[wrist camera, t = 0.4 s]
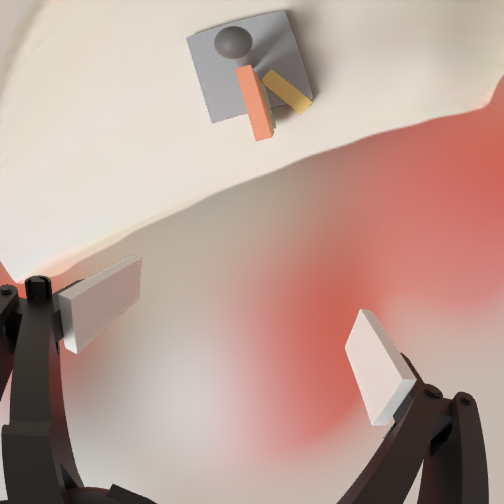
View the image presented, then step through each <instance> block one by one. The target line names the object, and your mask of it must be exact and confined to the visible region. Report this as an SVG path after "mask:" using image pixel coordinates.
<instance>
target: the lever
mask: <svg viewBox="0 0 504 504" xmlns="http://www.w3.org/2000/svg"><path fill="white" fill-rule="evenodd" d="M252 44H253V40H252V37H251V35H250V33H249V32H248V31H247V30H246V29H244V28H242V27H238V26H229V27H226V28H224V29H222V30H221V31H219V32H218V33H217V35H216V37H215V39H214V47H215V49H216V51H217V52H218V54H220V55H221V56H223V57H225V58H228V59H233V60H234V61H235V62H236V63H237V64H238V66H239V67H240V68H236V69H235V71H236V75H237V78H238V81H239V84H240V88H241V91H242V94H243V98H244V101H245V105H246V108H247V111H248V115H249V118H250V122H251V125H252V129H253V132H254V136H255V139H256V141H259V140H263V139H267V138H271V137H272V136H273V134H274V130H273V126H272V123H271V119H270V115H269V112H268V108H267V105H266V101H265V98H264V94H263V91H262V88H261V84H260V81H259V78H258V75H257V74H256V72H255V71H254V69H253V68H255V66H256V64H257V60H256V58H255V56H254V54H253V52H252V50H251V48H252Z"/></svg>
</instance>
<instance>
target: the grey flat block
mask: <svg viewBox="0 0 504 504" xmlns="http://www.w3.org/2000/svg"><path fill="white" fill-rule="evenodd" d="M229 26H238V27H242V28H244V29H246V30H247V31H248V32H249V33H250V35H251V37H252V40H253V44H252V48H251V50H252V52H253V54H254V56H255V58H256V60H257V64H256V66H255V68H253V69H254V71H255V72H256V74H257V75H258V78H259V81H260V84H261V88H262V91H263V94H264V98H265V101H266V105H267V108H268V112H269V115H270V119H271V123H272V126H273V129H275V128H276V125H275V121H274V117H273V114H272V110H271V107H276V106H280V105H285V104H288V105H290V106H291V107H292V108H293V109H294V110H296V111H297V112H298V113H299V114H300V115H301V114H302V113H303V112H304V111H305V110H306V109H307V107H308V106H309V105H310V104H311V103H312V101H310V100H311V99H313V95H312V91H311V88H310V84H309V81H308V77H307V74H306V70H305V67H304V64H303V61H302V58H301V54H300V51H299V48H298V45H297V42H296V39H295V37H294V34H293V31H292V28H291V25H290V23H289V20H288V17H287V15H286V12H285V10H284V11H278V12H273V13H268V14H263V15H259V16H254V17H250V18H246V19H242V20H239V21H235V22H231V23H228V24H225V25H221V26H218V27H215V28H212V29H209V30H206V31H203V32H200V33H198V34H195V35H192V36H190V37H187V38H186V39H187V43H188V46H189V49H190V53H191V56H192V59H193V62H194V66H195V69H196V72H197V76H198V79H199V82H200V85H201V89H202V92H203V95H204V99H205V102H206V105H207V109H208V112H209V115H210V118H211V122H212V123H216V122H219V121H222V120H225V119H229V118H232V117H236V116H239V115H243V114H247V113H248V111H247V108H246V105H245V101H244V98H243V94H242V91H241V88H240V84H239V81H238V78H237V75H236V71H235V69H236V68H240V67H239V66H238V64H237V63H236V62H235V61H234V60H233V59H228V58H225V57H223V56H221V55H220V54H218V52H217V51H216V49H215V47H214V39H215V37H216V35H217V33H218V32H219V31H221V30H222V29H224V28H226V27H229Z"/></svg>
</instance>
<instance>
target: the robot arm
mask: <svg viewBox="0 0 504 504" xmlns="http://www.w3.org/2000/svg"><path fill="white" fill-rule="evenodd" d="M141 263H142V258H141V257H138V256H134V255H130V256H128V257H126V258H124V259H122V260H120V261H118V262H116V263H114V264H112V265H111V266H109V267H107V268H105V269H103V270H101V271H99V272H97V273H96V274H94V275H92V276H90V277H88V278H86V279H82V280H78V281H75V282H74V283H72V284H70V285H68V286H66V287H65V288H63V289H61V290H59V291H57V292H55V293H54V294H52V288H51V280H50V279H49V278H48V277H45V276H32V277H29V278H28V279H26V280H25V288H26V296H27V299H24V298H21V297H19V296H18V290H17V288H16V287H15V286H13V285H8V284H7V285H2V286H1V287H0V401H1V398H2V395H3V392H4V389H5V387H6V384H7V382H8V379H9V377H10V374H11V372H12V370H13V372H12V383H11V395H10V396H11V397H10V423H9V425H3V427H2V434H1V436H2V458H3V468H4V477H5V484H6V490H7V496H8V500H4V501H0V504H157V503H155V502H153V501H152V500H150V499H148V498H146V497H143V496H141V495H138V494H136V493H133V492H131V491H128V490H126V489H124V488H121V487H119V486H117V485H115V484H113V485H112V486H111V488H110V490H108V489H103V488H97V487H84V485H83V482H82V480H81V478H80V476H79V473H78V471H77V467H76V464H75V460H74V456H73V452H72V448H71V443H70V438H69V433H68V428H67V422H66V416H65V410H64V401H63V393H62V382H61V368H60V346H59V341H60V340H61V339H62V338H63V337H64V343H65V348H67V349H69V350H71V351H72V352H74V353H76V354H78V353H79V352H80V351H82V350H83V349H84V348H85V347H86V346H87V345H88V344H89V343H90V342H91V341H92V340H93V339H95V338H96V337H97V336H98V335H99V334H100V333H101V332H102V331H103V330H105V329H106V328H107V327H108V326H109V325H110V324H111V323H112V322H113V321H115V320H116V319H117V318H118V317H119V316H120V315H121V314H123V313H124V312H125V311H126V310H127V309H128V308H129V307H131V306H132V305H133V304H134V303H135V302H136V301H137V300H139V292H140V277H141V276H140V275H141ZM345 350H346V353H347V355H348V358H349V361H350V363H351V366H352V369H353V371H354V375H355V377H356V380H357V383H358V386H359V389H360V391H361V394H362V397H363V400H364V403H365V406H366V409H367V412H368V415H369V418H370V421H371V424H372V426H377V425H378V426H381V425H387V423H388V422H389V421H390V419H391V418H392V417H393V418H394V420H395V423H394V425H393V426H392V427H391V428H390V430H389V431H388V432H387V434H386V435H385V436H384V437H383V438H384V440H383V442H382V443H381V445H380V447H379V448H378V450H377V451H376V453H375V454H374V456H373V457H372V459H371V460H370V462H369V463H368V465H367V466H366V467H365V469H364V470H363V471H362V473H361V474H360V475H359V477H358V478H357V479H356V481H355V482H354V483H353V485H352V486H351V487H350V488H349V490H348V491H347V492H346V493H345V495H344V496H343V497H342V498H341V499H340V500H339V501H338V503H337V504H403V502H404V500H405V498H406V496H407V494H408V492H409V490H410V488H411V486H412V484H413V482H414V480H415V478H416V476H417V473H418V471H419V469H420V466H421V464H422V462H423V459H424V462H423V470H422V478H421V485H420V491H419V496H418V501H417V504H489V489H488V472H487V461H486V453H485V445H484V439H483V434H482V428H481V422H480V417H479V413H478V408H477V405H476V401H475V399H474V398H473V397H472V396H471V395H470V394H468V393H465V392H458V393H457V394H456V395H455V397H454V398H453V399H452V400H451V399H446V398H443V394H442V392H441V391H440V390H439V389H438V388H436V387H435V386H433V385H430V384H425V383H424V382H423V380H422V379H421V377H420V376H419V374H418V373H417V371H415V368H414V366H412V363H411V362H410V360H409V359H408V358H407V357H406V356H405V355H404V354H402V353H400V352H399V351H398V349H397V348H396V346H395V345H394V343H393V341H392V340H391V338H390V337H389V336H388V334H387V333H386V331H385V330H384V328H383V327H382V325H381V324H380V322H379V321H378V319H377V318H376V317H375V315H374V314H373V312H372V311H369V310H365V309H360V311H359V314H358V316H357V319H356V322H355V324H354V326H353V329H352V331H351V334H350V336H349V338H348V341H347V343H346V346H345Z"/></svg>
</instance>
